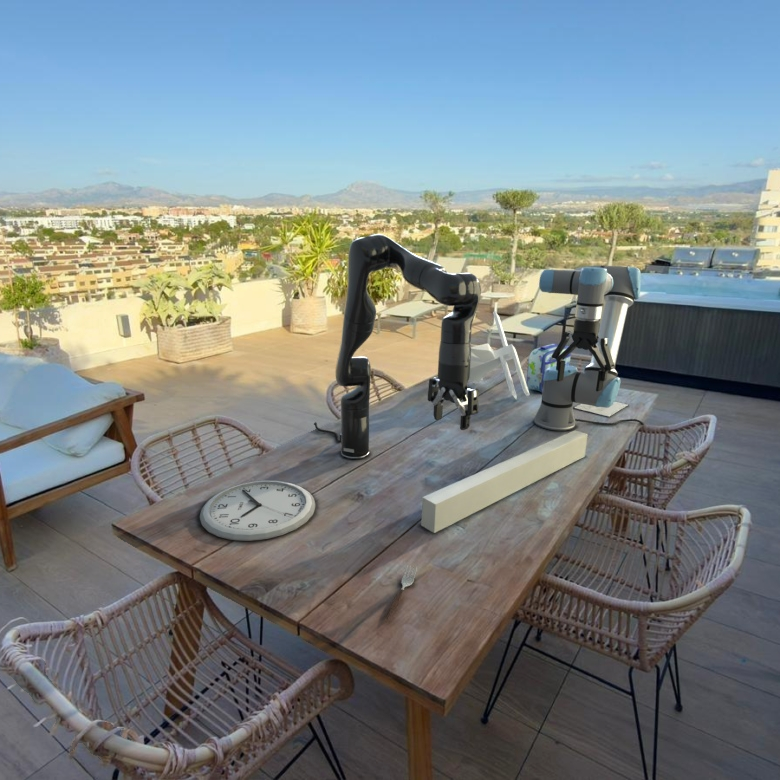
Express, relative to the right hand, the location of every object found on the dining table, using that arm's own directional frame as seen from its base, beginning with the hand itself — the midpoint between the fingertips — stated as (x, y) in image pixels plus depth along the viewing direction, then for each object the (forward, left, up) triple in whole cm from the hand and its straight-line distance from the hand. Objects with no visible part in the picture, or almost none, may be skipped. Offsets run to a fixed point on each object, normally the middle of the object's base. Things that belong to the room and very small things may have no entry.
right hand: (578, 385), depth 166 cm
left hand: (+40, +45, +1) cm, 60 cm away
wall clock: (+90, +46, -26) cm, 104 cm away
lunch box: (-6, -82, -26) cm, 86 cm away
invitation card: (-25, -58, -26) cm, 68 cm away
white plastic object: (+27, -70, -26) cm, 79 cm away
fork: (+49, +75, -26) cm, 93 cm away
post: (+20, +22, -26) cm, 40 cm away
